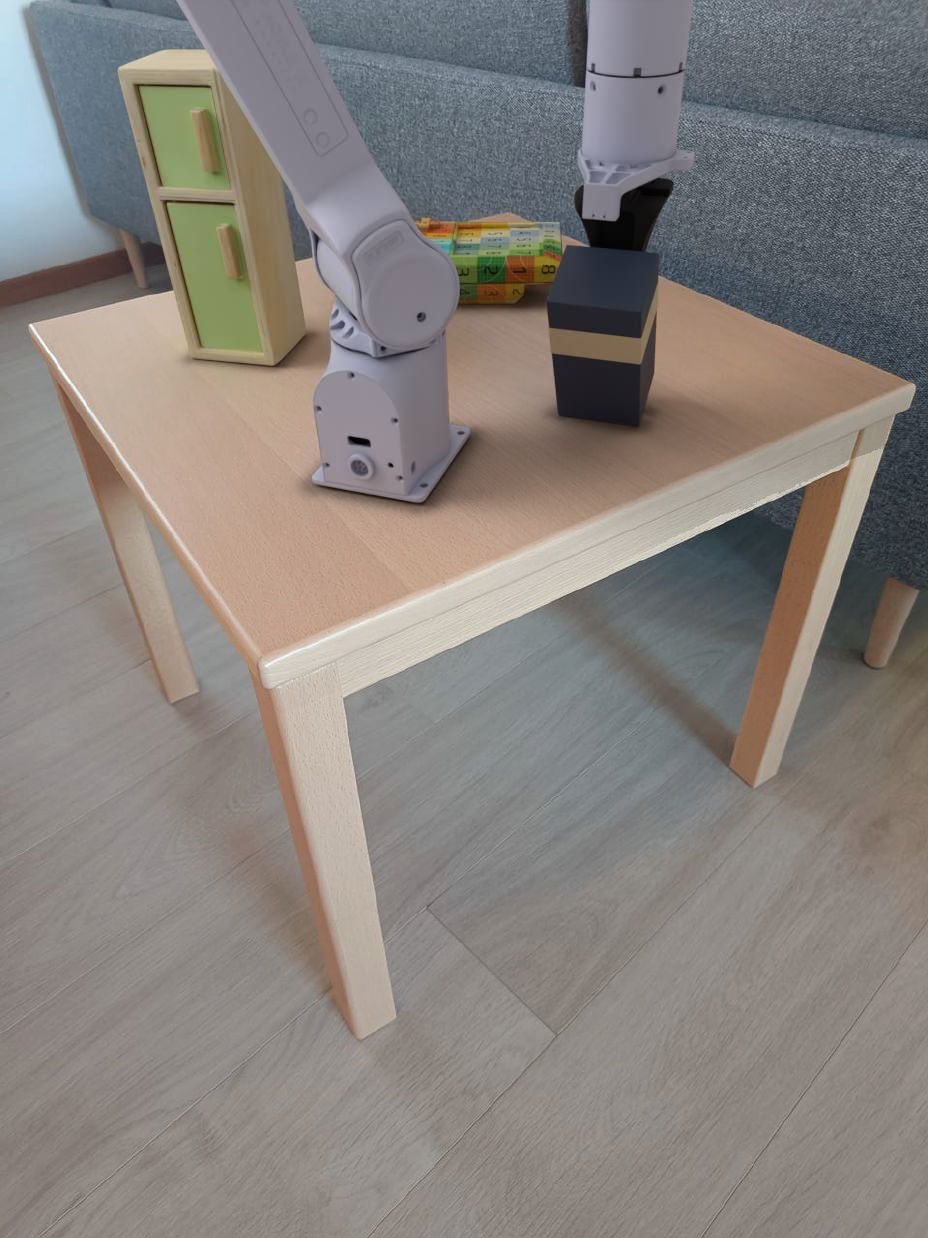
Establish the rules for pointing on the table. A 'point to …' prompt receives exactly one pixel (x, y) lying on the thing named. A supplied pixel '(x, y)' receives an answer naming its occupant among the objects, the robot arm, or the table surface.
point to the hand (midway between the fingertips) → (615, 298)
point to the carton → (603, 332)
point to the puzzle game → (498, 256)
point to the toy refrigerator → (215, 210)
